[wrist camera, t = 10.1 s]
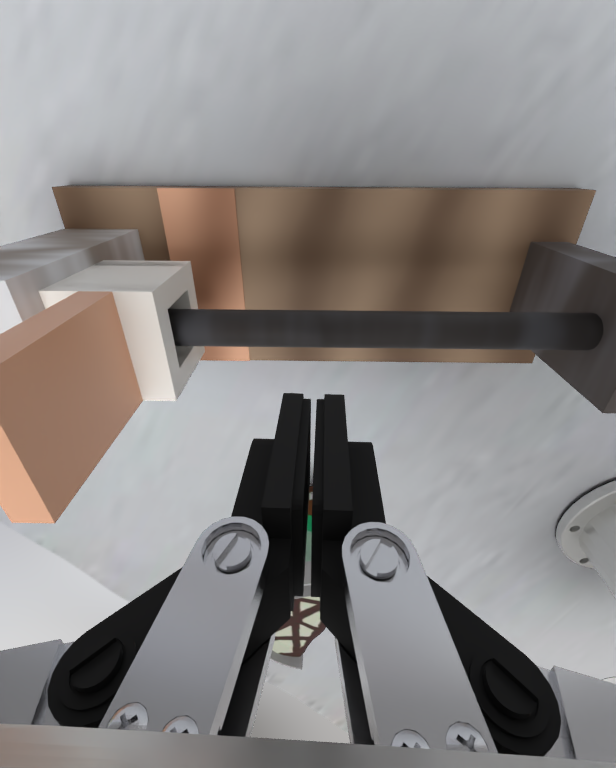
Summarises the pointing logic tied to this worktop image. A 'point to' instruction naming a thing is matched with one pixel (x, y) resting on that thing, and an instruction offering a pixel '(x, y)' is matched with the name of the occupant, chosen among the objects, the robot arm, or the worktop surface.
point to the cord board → (351, 272)
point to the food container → (300, 616)
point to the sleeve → (86, 376)
